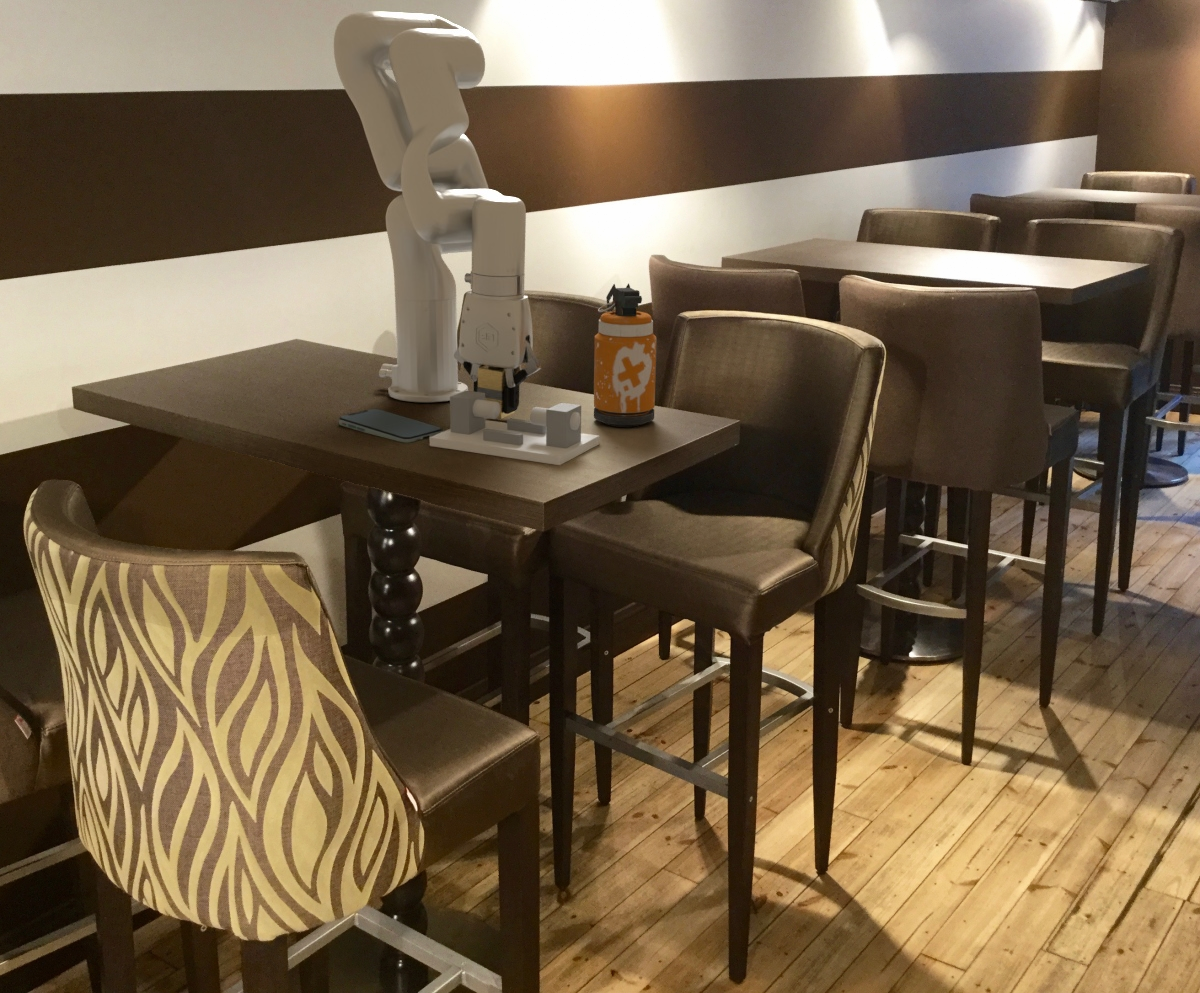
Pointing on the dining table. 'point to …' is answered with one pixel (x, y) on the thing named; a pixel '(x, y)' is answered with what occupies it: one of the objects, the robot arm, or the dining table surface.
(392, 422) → the smartphone
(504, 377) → the block
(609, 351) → the canister
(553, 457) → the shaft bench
